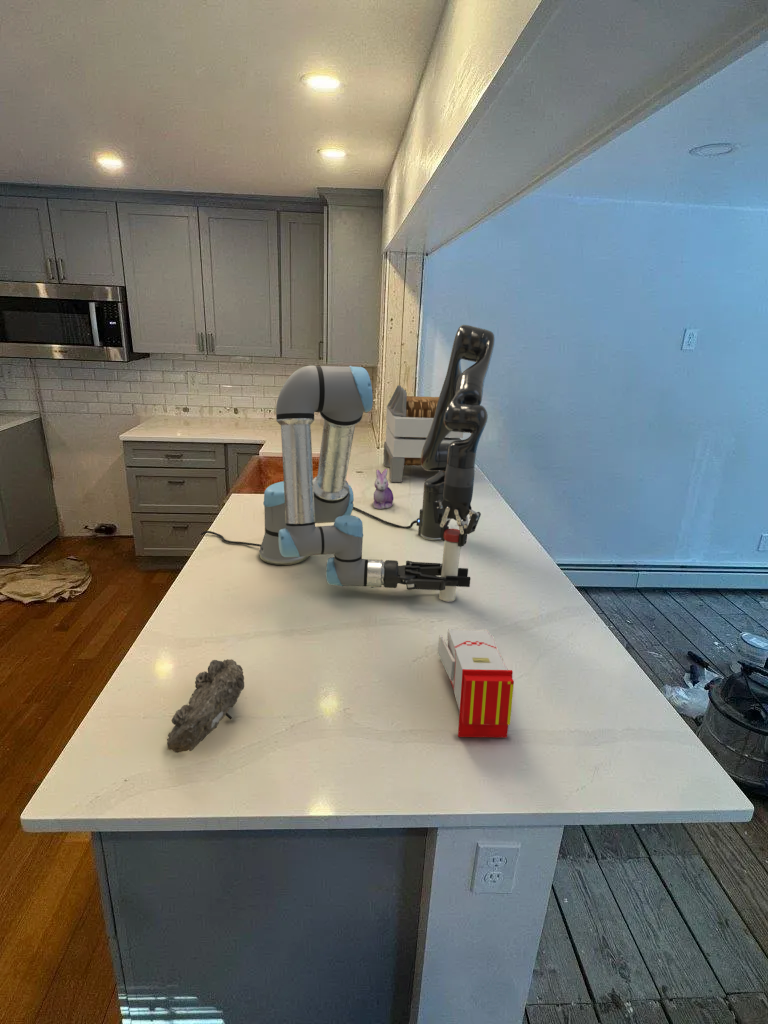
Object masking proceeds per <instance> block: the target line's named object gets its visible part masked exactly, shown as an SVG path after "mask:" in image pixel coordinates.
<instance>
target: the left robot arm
mask: <svg viewBox="0 0 768 1024" xmlns="http://www.w3.org/2000/svg"><path fill="white" fill-rule="evenodd" d="M373 396H374V395H373V387H372V381H371V378H370V374H369V372H368V371H367V369H366V368H364V367H362V366H352V365H349V366H342V365H341V366H339V365H337V366H336V365H335V366H334V365H306V366H302V367H300V368H298V369H296V370H295V371H294V372H292V373H291V375H290V376H288V378H287V379H286V381H285V382H284V384H283V386H281V389H280V392H279V394H278V397H277V401H276V406H275V414H276V415H275V420H276V423H278V424H279V425H280V437H281V438H280V439H281V454H282V456H281V457H282V475H283V481H278V482H274V483H272V484H270V485H269V486H267V487H266V489H265V490H264V492H263V507H264V510H263V511H264V512H263V513H264V535H263V538H262V541H261V543H253V542H247V541H246V542H245V541H235V540H228V539H225V538H224V536H223V535H222V534H219V533H217V532H215V531H211V530H205V531H202V532H201V533H200V535H201V536H203V535H205V534H211V535H214V536H217V537H219V538H220V539H221V540H222V541H223V542H225V543H228V544H233V545H245V546H253V547H259V558H260V560H261V561H263V562H264V563H267V564H270V565H273V566H275V565H276V566H291V565H297V564H300V563H302V562H304V561H305V560H307V559H308V558H309V556H310V557H312V556H321V555H323V556H324V555H334V556H333V557H329V558H327V560H326V568H325V569H326V572H325V578H326V583H327V584H328V585H331V586H339V587H366V588H381V587H382V586H383V588H386V589H397V587H398V584H400V585H404V586H406V590H407V591H413V590H422V591H423V590H425V591H440V590H445V586H456V588H457V587H460V588H470V587H471V579H472V578H471V576H469V575H468V574H469V567H467V568H465V567H458V576H446V578H445V577H441V571H442V563H440V562H421V561H419V562H418V561H411V560H406V561H405V564H402V565H399V561H398V560H393V559H386V560H384V561H383V559H372V558H363V541H364V527H363V525H364V524H363V520H362V519H361V518H360V517H359V516H356V515H352V513H353V510H354V509H353V507H354V491H353V488H352V487H351V485H350V484H349V482H348V481H347V475H348V469H349V463H350V457H351V453H352V452H351V450H352V445H353V440H354V434H355V433H354V432H355V427H356V425H358V424H359V423H360V422H361V421H362V419H363V415H364V413H368V412H371V411H372V409H373V401H374V400H373V399H374V398H373ZM315 413H319V416H320V417H321V418H322V419H323V427H322V435H321V444H320V452H319V459H318V467H317V475H316V476H315V477H314V468H313V465H314V464H313V446H312V445H313V444H312V427H311V426H312V425H313V423H314V422H315ZM329 523H332V524H333V525H320V526H319V525H318V526H316V524H329Z"/></svg>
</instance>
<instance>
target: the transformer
mask: <svg viewBox="0 0 768 1024" xmlns="http://www.w3.org/2000/svg"><path fill="white" fill-rule="evenodd" d="M407 394H408V393H407V390H406V389H404V388H403V387H402V385H399V384H398V385H397V386H396V388H395V390H394V392H393V394H392V395H391V398H390V400H389V402H388V404H387V405H386V413H385V414H386V415H385V423H386V428H385V438H384V442H383V466H384V467H388V468H389V475H388V476H389V477H388V478H389V480H390V482H391V483H402V482H403V475H404V469H405V466H406V467H407V466H411V467H412V466H413V467H415V466H416V467H417V466H418V467H422V465H421V453H422V449H423V446H424V443H425V441H426V438H427V436H428V433H429V431H430V428H431V425H432V422H433V418H434V415H435V411H436V407H437V403H438V399H439V396H415V395H414V396H413V395H412V396H411V395H407ZM463 438H464V433H463V432H453V431H451V432H450V433H449V434H448V435H447V436H446V437H445V438H444V439H443V441H442V442H441V443H451V442H453V441H458V440H462V439H463Z"/></svg>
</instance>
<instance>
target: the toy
mask: <svg viewBox="0 0 768 1024" xmlns="http://www.w3.org/2000/svg"><path fill="white" fill-rule="evenodd" d="M446 640H447V643H446V641H445V639H444V636H443V635H442V634H439V637H438V646H437V656H438V657H439V659H440V661H441V663H442V666H443V668H444V670H445V672H446V674H447V677H448V679H449V681H450V684H451V687H452V690H453V693H454V697H455V701H456V705H457V708H458V711H459V714H458V715H459V716H458V730H457V731H458V732H457V737H458V738H508V731H509V726H510V725H511V717H512V707H513V697H514V696H513V695H514V684H515V680H514V679H513V673H514V671H513V670H512V669H508V667H507V665H506V662H505V661H504V659H503V658H502V655H501V653H500V651H499V649H498V647H497V643H496V639H495V637H494V635H493V634H491V632H490V631H489V629H467V628H466V629H465V628H463V629H461V628H460V629H459V628H448V630H447V639H446Z"/></svg>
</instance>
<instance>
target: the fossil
mask: <svg viewBox="0 0 768 1024" xmlns="http://www.w3.org/2000/svg"><path fill="white" fill-rule="evenodd" d="M243 670H244V669H243V667H242V665H240V664H237V662H236V661H235V660H234V659H232V658H231V659H227V658H226V659H224V660H223V661H222V660H217V659H212V660H211V661H210V663H209V665H208V666H207V671H201V672H199V673H198V674H197V675H196V676H195V680H194V684H195V685H194V687H195V689H194V690H193V693H192V694H191V697H190V698H189V700H188V704H184V705H182V706H181V707H180V709H177V710H176V711H175V713H174V715H173V716H172V718H171V723H172V724H173V727H172V730H171V731H170V732H168V734H167V738H166V741H167V742H166V745H167V749H168V750H169V751H173V752H174V753H176V754H178V753H182V752H188V751H189V752H192V751H193V750H195V748H196V747H197V746H199V744H200V743H201V742H203V741H204V740H205V739H206V738H207V737H208V736H209V735H210V734H211V733H212V732H214V730H215V729H217V727H218V726H219V724H220V722H221V721H222V720H223V719H224V718H225V716H226V717H227V719H229V720H233V717H232V715H230V714H229V710H230V709H231V708H234V706H235V704H236V703H237V702H238V699H239V697H240V695H241V693H242V691H243V690H245V689H244V688H245V675H244V671H243Z"/></svg>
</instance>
